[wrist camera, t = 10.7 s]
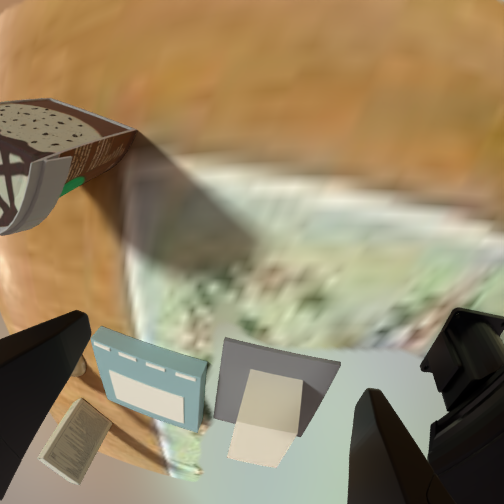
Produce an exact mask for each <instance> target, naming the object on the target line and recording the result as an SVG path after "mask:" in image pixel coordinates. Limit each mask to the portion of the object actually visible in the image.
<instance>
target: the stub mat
mask: <svg viewBox="0 0 504 504" xmlns="http://www.w3.org/2000/svg"><path fill="white" fill-rule="evenodd" d="M340 366H341V362H338V361H332V360H327V359H322V358H316V357H311V356H306V355H300V354H296V353H291V352H286V351H282V350H277V349H273V348H268V347H264V346H260V345H255V344H251V343H247V342H243V341H239V340H235V339H230V338H227V337H225V339H224V344H223V351H222V358H221V366H220V373H219V381H218V388H217V395H216V403H215V410H214V418H215V419H218V420H222V421H227V422H230V423H234V424H236V421H237V417H238V413H239V410H240V406H241V403H242V399H243V395H244V392H245V388H246V384H247V381H248V377H249V373H250V369H253V370H257V371H262V372H266V373H270V374H275V375H280V376H284V377H289V378H294V379H299V380H303V385H302V396H301V406H300V416H299V425H298V434H297V435H296V436H298V437H301V436H302V434H303V432H304V431H305V429H306V428H307V426H308V424H309V422H310V421H311V419H312V418H313V416H314V414H315V412H316V411H317V409H318V407H319V405H320V403H321V402H322V400H323V398H324V396H325V394H326V393H327V391H328V389H329V387H330V385H331V383H332V381H333V379H334V378H335V376H336V374H337V371H338V370H339V368H340Z"/></svg>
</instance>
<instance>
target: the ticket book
mask: <svg viewBox="0 0 504 504" xmlns="http://www.w3.org/2000/svg"><path fill="white" fill-rule="evenodd" d="M91 342H92V346H93V350H94V354H95V358H96V362H97V365H98V369H99V373H100V376H101V379H102V383H103V386H104V389H105V392H106V395H107V399H108V400H111V401H113V402H115V403H117V404H120V405H122V406H124V407H127V408H129V409H132V410H134V411H137V412H139V413H142V414H144V415H147V416H149V417H152V418H155V419H158V420H160V421H163V422H166V423H169V424H172V425H175V426H178V427H181V428H184V429H187V430H190V431H193V432H197V433H198V430H199V427H200V425H201V422H202V419H203V408H204V396H205V384H206V372H207V361H203V360H200V359H196V358H193V357H189V356H186V355H183V354H179V353H176V352H173V351H170V350H167V349H164V348H161V347H158V346H155V345H152V344H149V343H146V342H143V341H140V340H137V339H134V338H132V337H129V336H126V335H124V334H121V333H118V332H116V331H113V330H110V329H108V328H105V327H103V326H101V327H100V328H99V329H98V330H97V331H96V333H95V334H94V335H93V336H92V337H91Z"/></svg>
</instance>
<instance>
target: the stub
mask: <svg viewBox="0 0 504 504" xmlns="http://www.w3.org/2000/svg"><path fill="white" fill-rule="evenodd" d="M302 385H303V380H299V379H294V378H289V377H284V376H280V375H275V374H270V373H266V372H262V371H257V370H253V369H250V373H249V377H248V381H247V384H246V388H245V392H244V395H243V399H242V403H241V406H240V410H239V413H238V417H237V421H236V424H235V428H234V432H233V436H232V440H231V444H230V448H229V451H228V456H227V458H230V459H235V460H239V461H243V462H248V463H253V464H258V465H262V466H268V467H274V468H277V466H278V465H279V463H280V461H281V460H282V458H283V457H284V455H285V453H286V452H287V450H288V449H289V447H290V445H291V444H292V442H293V440H294V439H295V437H296V435H297V434H298V425H299V416H300V406H301V396H302Z"/></svg>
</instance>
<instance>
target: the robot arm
mask: <svg viewBox="0 0 504 504" xmlns="http://www.w3.org/2000/svg"><path fill="white" fill-rule="evenodd" d="M458 313H459V314H458ZM456 314H458V315H456ZM455 315H456V316H455ZM503 330H504V317H503V316H498V315H493V314H488V313H483V312H478V311H474V310H469V309H464V308H455V309H453V311H452V312H451V314H450V316H449V317H448V319H447V321H446V323H445V325H444V326H443V328H442V330H441V332H440V333H439V335H438V337H437V338H436V340H435V342H434V343H433V345H432V347H431V348H430V350H429V352H428V353H427V355H426V356H425V358H424V360H423V361H422V363H421V365H420V368H421V371H423V372H431V373H433V376H434V380H435V382H436V386H437V389H438V392H442V396H443V399H444V402H445V406H446V409H447V411H448V412H449V413H447V414H446V415H445V416H443V417H442V418H441V419H439V420H438V421H435V422H434V423H432V424H431V427H430V441H429V453H428V457H427V460H426V458H425V456H424V455H423V453H422V452H421V450H420V448H419V447H418V445H417V444H416V442H415V441H414V439H413V438H412V436H411V435H410V433H409V432H408V430H407V429H406V427H405V426H404V424H403V423H402V421H401V420H400V418H399V417H398V415H397V414H396V412H395V411H394V409H393V408H392V406H391V405H390V403H389V402H388V400H387V399H386V397H385V396H384V394H383V393H382V391H381V390H379V389H374V388H367V389H366V390H365V392H364V393H363V395H362V396H361V398H360V399H359V401H358V402H357V404H356V406H355V412H354V420H353V429H352V437H351V444H350V454H349V483H348V501H347V502H348V503H347V504H504V343H503V342H502V340H501V338H500V335H501V333H502V332H503ZM90 337H91V328H90V323H89V318H88V315H87V314H86V313H84V312H81V311H79V310H75V311H72V312H69V313H67V314H64V315H61V316H59V317H56V318H54V319H51V320H49V321H46V322H43V323H41V324H38V325H36V326H33V327H30V328H28V329H25V330H23V331H20V332H18V333H15V334H12V335H10V336H7V337H5V338H2V339H0V500H2V499H3V497H4V495H5V493H6V491H7V489H8V487H9V485H10V483H11V480H12V478H13V476H14V474H15V472H16V471H17V469H18V466H19V465H20V463H21V459H22V458H23V457H24V454H25V453H26V451H27V449H28V447H29V445H30V443H31V442H32V440H33V438H34V436H35V434H36V433H37V431H38V429H39V428H40V426H41V424H42V422H43V421H44V419H45V417H46V415H47V414H48V412H49V410H50V409H51V407H52V405H53V404H54V402H55V400H56V399H57V397H58V395H59V394H60V392H61V391H62V389H63V387H64V386H65V384H66V383H67V381H68V379H69V378H70V376H71V374H72V373H73V371H74V369H75V367H76V365H77V363H78V361H79V359H80V357H81V355H82V353H83V351H84V349H85V347H86V346H87V344H88V342H89V340H90Z"/></svg>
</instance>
